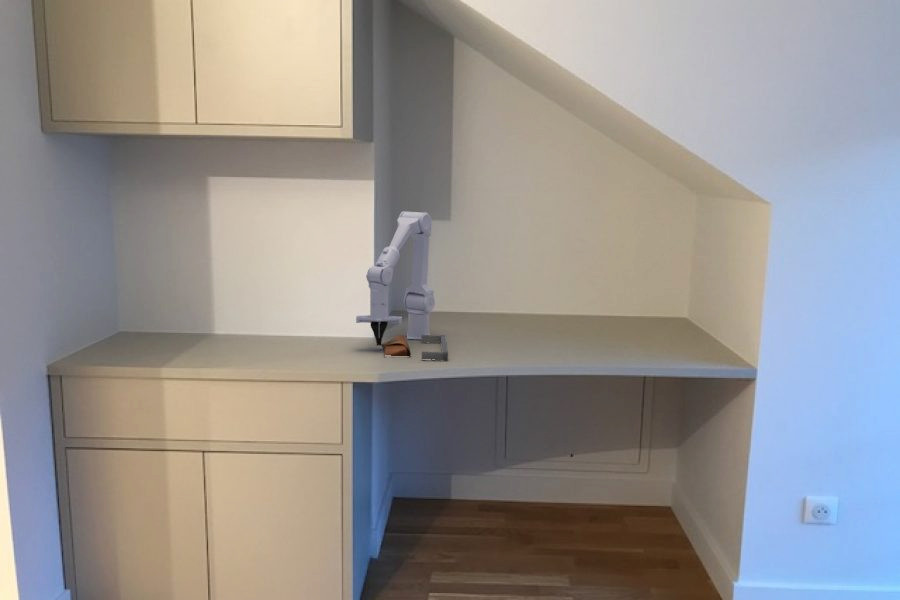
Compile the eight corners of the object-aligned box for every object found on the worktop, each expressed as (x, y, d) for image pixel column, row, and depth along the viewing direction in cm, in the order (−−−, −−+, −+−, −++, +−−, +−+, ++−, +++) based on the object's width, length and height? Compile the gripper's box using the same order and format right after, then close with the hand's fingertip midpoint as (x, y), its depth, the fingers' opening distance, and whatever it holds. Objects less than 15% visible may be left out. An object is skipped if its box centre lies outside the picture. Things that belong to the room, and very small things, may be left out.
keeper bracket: (421, 342, 240) (421, 334, 240) (444, 342, 241) (444, 335, 240) (421, 360, 217) (421, 352, 216) (447, 361, 217) (447, 353, 217)
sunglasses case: (379, 343, 236) (390, 327, 236) (397, 353, 238) (408, 337, 238) (383, 357, 219) (395, 339, 218) (403, 368, 221) (414, 350, 220)
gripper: (355, 305, 221) (355, 347, 223) (401, 306, 222) (401, 348, 224) (357, 301, 228) (357, 342, 230) (402, 301, 229) (401, 342, 231)
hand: (379, 344), depth 228 cm, fingers closed
